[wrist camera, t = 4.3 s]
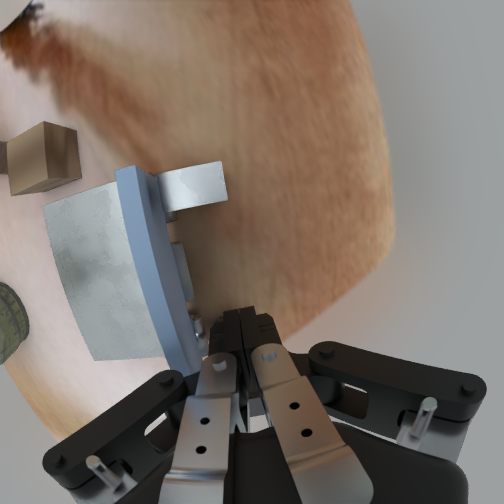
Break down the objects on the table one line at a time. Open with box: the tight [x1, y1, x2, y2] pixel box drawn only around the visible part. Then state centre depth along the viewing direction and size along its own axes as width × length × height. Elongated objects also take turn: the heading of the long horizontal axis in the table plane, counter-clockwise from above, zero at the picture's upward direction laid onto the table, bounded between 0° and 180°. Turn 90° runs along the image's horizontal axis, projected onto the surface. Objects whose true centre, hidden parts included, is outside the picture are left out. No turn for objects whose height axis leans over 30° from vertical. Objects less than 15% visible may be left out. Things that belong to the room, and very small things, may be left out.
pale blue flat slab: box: [115, 165, 203, 377], centre depth 17 cm, size 16×14×2 cm
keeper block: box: [7, 121, 82, 196], centre depth 18 cm, size 5×5×6 cm
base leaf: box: [43, 161, 265, 417], centre depth 19 cm, size 18×19×12 cm
